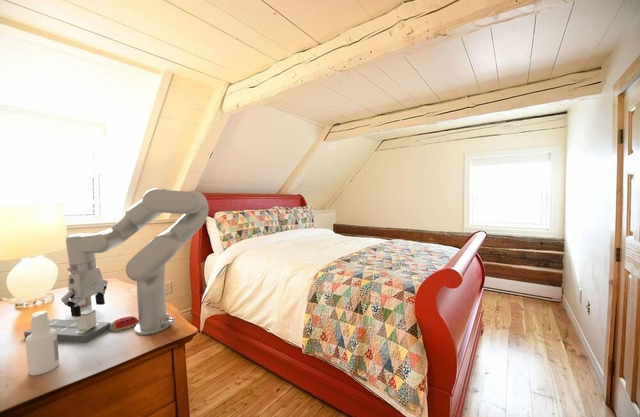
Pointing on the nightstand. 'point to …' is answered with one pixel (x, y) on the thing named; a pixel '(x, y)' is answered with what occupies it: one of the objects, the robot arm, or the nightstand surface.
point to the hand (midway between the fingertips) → (89, 310)
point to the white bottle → (41, 345)
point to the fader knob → (87, 320)
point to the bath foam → (85, 304)
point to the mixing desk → (75, 330)
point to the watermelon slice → (123, 323)
